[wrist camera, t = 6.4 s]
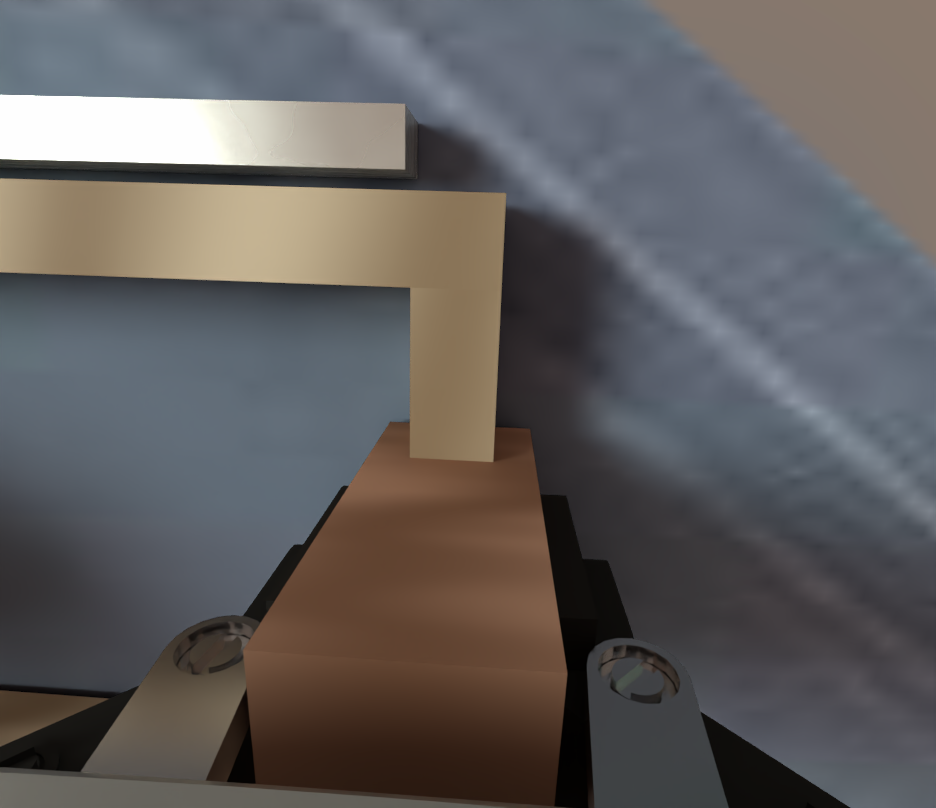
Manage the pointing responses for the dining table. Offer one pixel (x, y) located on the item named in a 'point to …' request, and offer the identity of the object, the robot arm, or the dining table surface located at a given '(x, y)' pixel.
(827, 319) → the dining table surface
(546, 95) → the dining table surface
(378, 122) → the guide rails
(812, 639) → the dining table surface
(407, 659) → the pull frame
